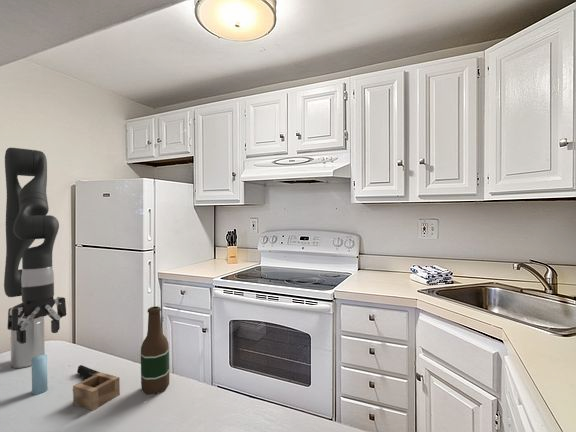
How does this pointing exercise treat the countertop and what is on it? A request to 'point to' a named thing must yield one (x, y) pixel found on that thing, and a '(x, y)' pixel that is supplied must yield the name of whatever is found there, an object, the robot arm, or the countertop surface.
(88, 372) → the electric trimmer
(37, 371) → the peg
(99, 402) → the socket block
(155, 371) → the beer bottle
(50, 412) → the countertop surface
